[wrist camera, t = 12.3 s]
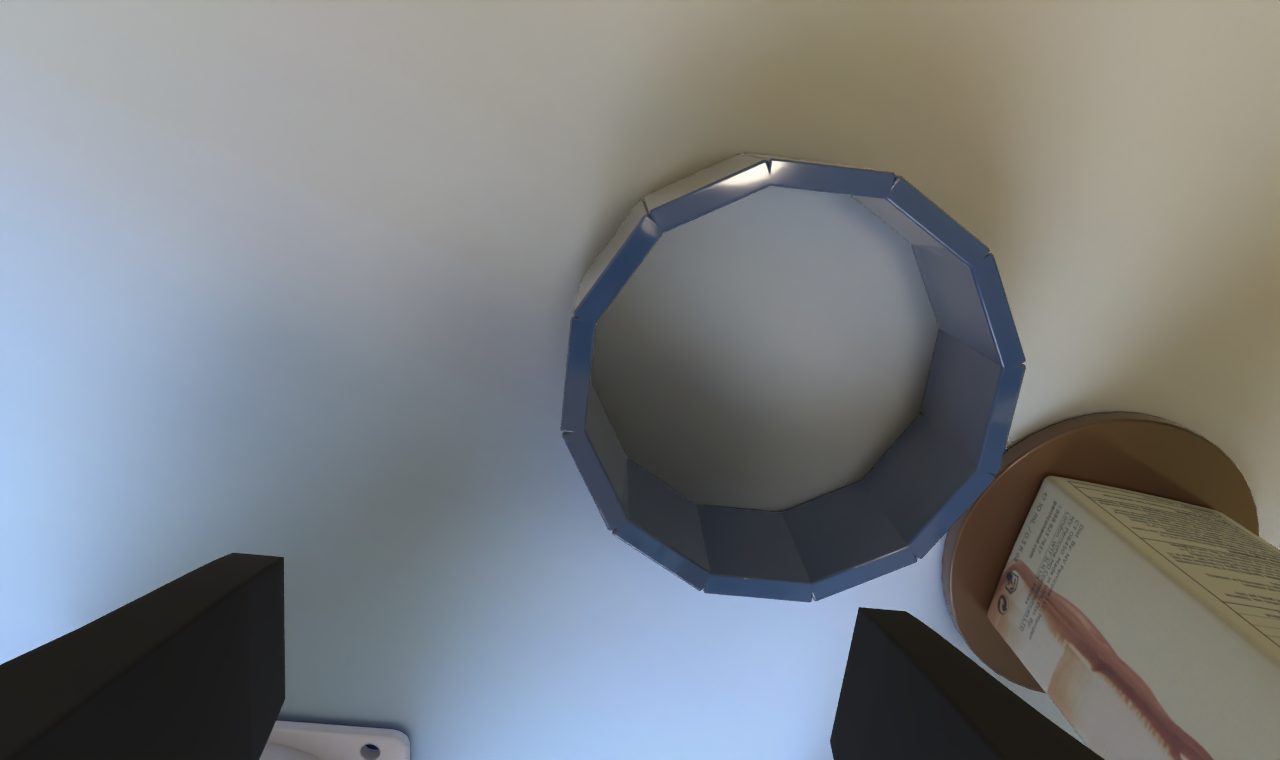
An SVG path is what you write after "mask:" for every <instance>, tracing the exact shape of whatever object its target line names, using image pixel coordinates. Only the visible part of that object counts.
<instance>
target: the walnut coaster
mask: <svg viewBox="0 0 1280 760" xmlns="http://www.w3.org/2000/svg"><path fill="white" fill-rule="evenodd" d="M994 475H995V477H996V478H995V480H994V481H993V482H992V483H991V484H990V485H989V486H988V487H987V488H986V489H985V490H984V492H983V493H982V494H981V495H980V496H979V497H978V498H977V499H976V500H975V501H974V502H973V504H972V505H971V506H970V507H969V508H968V509H967V510H966V511H965V512H964V513H963V514H962V515H961V517H960V518H959V519H958V520H957V521H956V522H955V523H954V524H953V525H952V526H951V527H950V529H949V532H948V535H947V538H946V541H945V547H944V552H943V558H942V584H943V592H944V597H945V601H946V604H947V608H948V611H949V613H950V615H951V618H952V620H953V622H954V624H955V626H956V628H957V629H958V631H959V632H960V634H961V635H962V637H963V638H964V640H965V641H966V643H967V644H968V646H969V647H970V649H971V650H972V651H973V652H974V653H975V654H976V655H977V656H978V658H979V659H980V660H981V661H982V662H983V663H984V664H986V665H987V666H988V667H989V668H991V669H992V670H993V671H994V672H996V673H997V674H999V675H1001V676H1002V677H1004V678H1006V679H1008V680H1009V681H1011V682H1013V683H1016V684H1018V685H1020V686H1023V687H1025V688H1028V689H1031V690H1035V691H1038V692H1042V693H1046V692H1045V691H1044V690H1043V689H1042V687H1041V686H1040V685H1039V683H1038V682H1037V681H1036V680H1035V678H1034V677H1033V676H1032V675H1031V673H1030V672H1029V671H1028V669H1027V668H1026V667H1025V666H1024V664H1023V663H1022V662H1021V660H1020V659H1019V658H1018V656H1017V655H1016V654H1015V653H1014V651H1013V650H1012V649H1011V647H1010V646H1009V645H1008V644H1007V642H1006V641H1005V640H1004V639H1003V637H1002V636H1001V635H1000V633H999V632H998V631H997V629H996V628H995V627H994V626H993V624H992V623H991V621H990V620H989V618H988V609H989V607H990V604H991V601H992V599H993V596H994V594H995V591H996V589H997V586H998V584H999V581H1000V578H1001V576H1002V573H1003V571H1004V569H1005V566H1006V564H1007V561H1008V559H1009V556H1010V555H1011V552H1012V550H1013V547H1014V545H1015V542H1016V540H1017V538H1018V536H1019V534H1020V531H1021V529H1022V527H1023V525H1024V522H1025V520H1026V518H1027V516H1028V513H1029V511H1030V509H1031V507H1032V505H1033V503H1034V501H1035V498H1036V496H1037V494H1038V492H1039V490H1040V487H1041V485H1042V483H1043V480H1044V479H1045V478H1046V477H1047V476H1056V477H1063V478H1068V479H1073V480H1079V481H1085V482H1090V483H1095V484H1100V485H1105V486H1110V487H1115V488H1121V489H1125V490H1130V491H1134V492H1139V493H1144V494H1149V495H1153V496H1158V497H1162V498H1166V499H1171V500H1175V501H1180V502H1184V503H1188V504H1191V505H1196V506H1200V507H1204V508H1208V509H1213V510H1216V511H1219V512H1221V513H1223V514H1224V515H1226V516H1227V517H1229V518H1231V519H1232V520H1234V521H1235V522H1237V523H1238V524H1240V525H1241V526H1243V527H1245V528H1246V529H1248V530H1249V531H1251V532H1252V533H1254V534H1255V535H1257V536H1258V537H1259V524H1258V517H1257V511H1256V506H1255V503H1254V500H1253V497H1252V494H1251V491H1250V489H1249V487H1248V485H1247V483H1246V481H1245V479H1244V477H1243V475H1242V474H1241V472H1240V471H1239V470H1238V468H1237V467H1236V465H1235V464H1234V463H1233V461H1232V460H1231V459H1230V458H1229V457H1228V456H1227V455H1226V454H1225V453H1224V452H1223V451H1222V450H1221V449H1219V448H1218V447H1217V446H1216V445H1214V444H1213V443H1211V442H1210V441H1208V440H1207V439H1205V438H1204V437H1202V436H1201V435H1199V434H1197V433H1195V432H1193V431H1191V430H1189V429H1187V428H1185V427H1183V426H1181V425H1179V424H1177V423H1175V422H1172V421H1169V420H1165V419H1162V418H1159V417H1156V416H1150V415H1144V414H1138V413H1120V412H1114V413H1102V414H1093V415H1088V416H1083V417H1078V418H1073V419H1070V420H1067V421H1064V422H1061V423H1058V424H1055V425H1052V426H1050V427H1048V428H1046V429H1044V430H1042V431H1039V432H1037V433H1035V434H1033V435H1031V436H1030V437H1028V438H1026V439H1025V440H1023V441H1021V442H1020V443H1018V444H1017V445H1015V446H1014V447H1012V448H1011V449H1010V450H1008V451H1007V452H1006V453H1004V454H1003V458H1002V462H1001V466H1000V470H999V473H998V474H994Z"/></svg>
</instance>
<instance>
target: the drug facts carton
mask: <svg viewBox="0 0 1280 760" xmlns="http://www.w3.org/2000/svg"><path fill="white" fill-rule="evenodd" d="M988 618H989V620H990V621H991V623H992V624H993V626H994V627H995V628H996V629H997V631H998V632H999V633H1000V635H1001V636H1002V637H1003V639H1004V640H1005V641H1006V642H1007V644H1008V645H1009V646H1010V647H1011V649H1012V650H1013V651H1014V653H1015V654H1016V655H1017V656H1018V658H1019V659H1020V660H1021V662H1022V663H1023V664H1024V666H1025V667H1026V668H1027V669H1028V671H1029V672H1030V673H1031V675H1032V676H1033V677H1034V678H1035V680H1036V681H1037V682H1038V683H1039V685H1040V686H1041V687H1042V689H1043V690H1044V691H1045V692H1046V694H1047V695H1048V696H1049V697H1050V698H1051V700H1052V701H1053V703H1054V704H1055V705H1056V706H1057V707H1058V709H1059V710H1060V711H1061V713H1062V714H1063V715H1064V717H1065V718H1066V719H1067V720H1068V722H1069V723H1070V724H1071V726H1072V727H1073V728H1074V729H1075V731H1076V732H1077V733H1078V734H1079V736H1080V737H1081V738H1082V740H1083V741H1084V742H1085V743H1086V745H1087V746H1088V747H1089V749H1091V750H1092V751H1094V752H1095V753H1096V754H1098V755H1099V756H1101V757H1102V758H1104V759H1105V760H1280V550H1278V549H1277V548H1275V547H1274V546H1272V545H1271V544H1269V543H1268V542H1266V541H1264V540H1263V539H1261V538H1260V537H1258V536H1257V535H1255V534H1254V533H1252V532H1251V531H1249V530H1248V529H1246V528H1245V527H1243V526H1241V525H1240V524H1238V523H1237V522H1235V521H1234V520H1232V519H1231V518H1229V517H1227V516H1226V515H1224V514H1223V513H1221V512H1219V511H1216V510H1213V509H1208V508H1204V507H1200V506H1196V505H1191V504H1188V503H1184V502H1180V501H1175V500H1171V499H1166V498H1162V497H1158V496H1153V495H1149V494H1144V493H1139V492H1134V491H1130V490H1125V489H1121V488H1115V487H1110V486H1105V485H1100V484H1095V483H1090V482H1085V481H1079V480H1073V479H1068V478H1063V477H1056V476H1047V477H1046V478H1045V479H1044V480H1043V483H1042V485H1041V487H1040V490H1039V492H1038V494H1037V496H1036V498H1035V501H1034V503H1033V505H1032V507H1031V509H1030V511H1029V513H1028V516H1027V518H1026V520H1025V522H1024V525H1023V527H1022V529H1021V531H1020V534H1019V536H1018V538H1017V540H1016V542H1015V545H1014V547H1013V550H1012V552H1011V555H1010V556H1009V559H1008V561H1007V564H1006V566H1005V569H1004V571H1003V573H1002V576H1001V578H1000V581H999V584H998V586H997V589H996V591H995V594H994V596H993V599H992V601H991V604H990V607H989V609H988Z"/></svg>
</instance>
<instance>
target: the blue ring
mask: <svg viewBox="0 0 1280 760" xmlns="http://www.w3.org/2000/svg"><path fill="white" fill-rule="evenodd" d="M769 186H777V187H785V188H794V189H803V190H811V191H820V192H828V193H837V194H846V195H850V196H852V197H853V198H854V199H855V200H857V201H858V202H859V203H860V204H862V205H863V206H864V207H865V208H867V209H868V210H869V211H870V212H872V213H873V214H874V215H875V216H877V217H878V218H879V219H880V220H882V221H883V222H884V223H885V224H886V225H888V226H889V227H890V228H891V229H893V230H894V231H895V232H896V233H898V234H899V235H900V236H901V237H903V238H904V239H905V240H906V241H908V242H909V243H910V244H911V246H912V249H913V252H914V255H915V258H916V261H917V264H918V266H919V269H920V272H921V275H922V278H923V281H924V284H925V287H926V290H927V293H928V296H929V299H930V302H931V305H932V308H933V311H934V314H935V317H936V320H937V323H938V326H939V331H938V336H937V340H936V345H935V349H934V354H933V358H932V363H931V367H930V372H929V376H928V381H927V385H926V390H925V394H924V399H923V403H922V408H921V412H920V415H919V416H918V417H917V418H916V419H915V420H914V421H913V423H912V424H911V425H910V426H909V427H908V428H907V429H906V431H905V432H904V433H903V434H902V435H901V436H900V437H899V439H898V440H897V441H896V442H895V443H894V444H893V445H892V447H891V448H890V449H889V450H888V451H887V452H886V453H885V455H884V456H883V457H882V458H881V459H880V460H879V461H878V463H877V464H876V465H875V466H874V467H873V468H872V470H871V471H870V472H869V473H868V474H867V475H866V476H865V478H864V479H863V480H861V481H859V482H856V483H854V484H851V485H849V486H846V487H844V488H841V489H839V490H836V491H834V492H831V493H829V494H826V495H824V496H821V497H819V498H816V499H814V500H811V501H809V502H806V503H804V504H801V505H799V506H796V507H794V508H791V509H789V510H786V511H784V512H771V511H760V510H749V509H739V508H728V507H717V506H707V505H696V504H695V503H693V502H692V501H690V500H689V499H687V498H686V497H684V496H683V495H681V494H680V493H678V492H677V491H675V490H674V489H673V488H671V487H670V486H668V485H667V484H665V483H664V482H662V481H661V480H659V479H658V478H656V477H655V476H653V475H652V474H650V473H649V472H647V471H646V470H644V469H643V468H641V467H640V466H639V465H637V464H636V463H634V462H633V461H631V460H630V459H628V458H627V457H626V455H625V452H624V450H623V448H622V446H621V444H620V442H619V440H618V438H617V436H616V433H615V431H614V429H613V427H612V425H611V423H610V421H609V419H608V417H607V414H606V412H605V410H604V408H603V406H602V404H601V402H600V400H599V398H598V396H597V393H596V391H595V389H594V387H593V385H592V383H591V381H590V380H591V371H592V361H593V351H594V341H595V331H596V323H597V322H598V321H599V319H600V318H601V317H602V315H603V314H604V313H605V311H606V310H607V309H608V307H609V306H610V304H611V303H612V302H613V300H614V299H615V298H616V296H617V295H618V294H619V292H620V291H621V290H622V288H623V287H624V286H625V284H626V283H627V281H628V280H629V279H630V277H631V276H632V275H633V273H634V272H635V271H636V269H637V268H638V267H639V265H640V264H641V263H642V261H643V260H644V259H645V257H646V256H647V254H648V253H649V252H650V250H651V249H652V248H653V246H654V245H655V244H656V242H657V241H658V240H659V238H660V237H661V236H662V234H663V233H665V232H667V231H669V230H672V229H674V228H676V227H678V226H681V225H683V224H685V223H687V222H690V221H692V220H694V219H697V218H699V217H701V216H703V215H706V214H708V213H710V212H712V211H715V210H717V209H719V208H722V207H724V206H726V205H728V204H731V203H733V202H735V201H737V200H740V199H742V198H744V197H747V196H749V195H751V194H753V193H756V192H758V191H760V190H762V189H765V188H767V187H769ZM989 251H990V250H989V248H988V247H987V246H986V245H984V244H983V243H982V242H981V241H980V240H978V239H977V238H976V237H975V236H974V235H972V234H971V233H970V232H969V231H967V230H966V229H965V228H964V227H963V226H961V225H960V224H959V223H958V222H956V221H955V220H954V219H953V218H952V217H950V216H949V215H948V214H947V213H946V212H944V211H943V210H942V209H941V208H939V207H938V206H937V205H936V204H935V203H933V202H932V201H931V200H930V199H928V198H927V197H926V196H925V195H924V194H922V193H921V192H920V191H919V190H918V189H916V188H915V187H914V186H913V185H911V184H910V183H909V182H908V181H907V180H905V179H904V178H903V177H902V176H899V175H895V173H893V172H888V171H882V170H875V169H869V168H863V167H857V166H851V165H845V164H836V163H828V162H819V161H811V160H802V159H794V158H785V157H777V156H769V155H760V154H752V153H744V154H743V155H742V154H737V155H735V156H733V157H731V158H728V159H726V160H724V161H722V162H719V163H717V164H715V165H713V166H710V167H708V168H706V169H704V170H701V171H699V172H697V173H695V174H692V175H690V176H688V177H686V178H683V179H681V180H679V181H677V182H674V183H672V184H670V185H668V186H666V187H663V188H661V189H659V190H657V191H654V192H652V193H650V194H648V195H645V196H644V201H643V200H639V201H638V203H637V204H636V205H635V207H634V208H633V210H632V211H631V212H630V214H629V215H628V217H627V218H626V219H625V221H624V222H623V223H622V225H621V226H620V228H619V229H618V230H617V232H616V233H615V234H614V236H613V237H612V239H611V240H610V241H609V243H608V244H607V246H606V247H605V248H604V250H603V251H602V252H601V254H600V255H599V257H598V258H597V259H596V261H595V262H594V263H593V265H592V266H591V268H590V269H589V270H588V272H587V273H586V274H585V276H584V277H583V279H582V280H581V283H580V286H579V287H578V291H577V295H576V299H575V303H574V308H573V312H572V316H571V321H570V332H569V343H568V353H567V364H566V375H565V386H564V397H563V408H562V419H561V431H562V437H563V439H564V441H565V443H566V445H567V447H568V449H569V451H570V453H571V455H572V457H573V459H574V461H575V464H576V466H577V468H578V470H579V472H580V474H581V476H582V478H583V480H584V482H585V484H586V486H587V488H588V490H589V492H590V494H591V496H592V498H593V500H594V502H595V504H596V506H597V508H598V510H599V512H600V514H601V516H602V518H603V520H604V522H605V524H606V526H607V528H608V529H609V530H612V534H613V535H614V536H616V537H617V538H619V539H620V540H622V541H624V542H625V543H627V544H628V545H630V546H631V547H633V548H634V549H636V550H637V551H639V552H640V553H642V554H643V555H645V556H647V557H648V558H650V559H651V560H653V561H654V562H656V563H657V564H659V565H660V566H662V567H663V568H665V569H666V570H668V571H670V572H671V573H673V574H674V575H676V576H677V577H679V578H680V579H682V580H683V581H685V582H686V583H688V584H689V585H691V586H693V587H694V588H696V589H697V590H699V591H701V590H702V589H703V591H704V593H709V594H721V595H732V596H744V597H755V598H766V599H778V600H789V601H801V602H811V601H812V598H813V600H815V601H818V600H821V599H823V598H826V597H828V596H831V595H833V594H836V593H839V592H841V591H844V590H846V589H849V588H851V587H854V586H857V585H859V584H862V583H864V582H867V581H870V580H872V579H875V578H877V577H880V576H882V575H885V574H888V573H890V572H893V571H895V570H898V569H900V568H903V567H906V566H908V565H911V564H913V563H916V562H917V558H920V559H921V558H923V557H924V556H925V555H926V554H927V552H928V551H929V550H930V549H931V548H932V547H933V546H934V545H935V544H936V543H937V542H938V540H939V539H940V538H941V537H942V536H943V535H944V534H945V533H946V532H947V531H948V530H949V529H950V527H951V526H952V525H953V524H954V523H955V522H956V521H957V520H958V519H959V518H960V517H961V515H962V514H963V513H964V512H965V511H966V510H967V509H968V508H969V507H970V506H971V505H972V504H973V502H974V501H975V500H976V499H977V498H978V497H979V496H980V495H981V494H982V493H983V492H984V490H985V489H986V488H987V487H988V486H989V485H990V484H991V483H992V482H993V481H994V480H995V478H996V477H995V475H994V474H998V473H999V470H1000V466H1001V462H1002V458H1003V454H1004V450H1005V446H1006V443H1007V439H1008V435H1009V431H1010V427H1011V423H1012V419H1013V415H1014V411H1015V407H1016V404H1017V400H1018V396H1019V392H1020V388H1021V384H1022V380H1023V376H1024V372H1025V369H1026V366H1025V365H1024V364H1022V363H1024V362H1025V356H1024V353H1023V350H1022V346H1021V343H1020V340H1019V337H1018V333H1017V330H1016V327H1015V324H1014V320H1013V317H1012V314H1011V311H1010V307H1009V304H1008V301H1007V298H1006V294H1005V291H1004V288H1003V285H1002V281H1001V278H1000V275H999V272H998V268H997V265H996V262H995V259H994V255H993V254H992V253H989Z"/></svg>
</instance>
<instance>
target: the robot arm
mask: <svg viewBox="0 0 1280 760" xmlns="http://www.w3.org/2000/svg"><path fill="white" fill-rule="evenodd" d="M284 700H285V639H284V557H276V556H264V555H253V554H242V553H231V554H229V555H226V556H224V557H221V558H219V559H217V560H215V561H212V562H210V563H208V564H206V565H204V566H202V567H200V568H198V569H196V570H194V571H192V572H189V573H187V574H185V575H183V576H182V577H180V578H178V579H176V580H174V581H172V582H170V583H168V584H166V585H164V586H162V587H160V588H158V589H156V590H154V591H152V592H150V593H148V594H146V595H144V596H142V597H140V598H138V599H136V600H134V601H132V602H130V603H128V604H126V605H124V606H122V607H121V608H119V609H117V610H115V611H113V612H111V613H109V614H107V615H105V616H103V617H101V618H99V619H97V620H95V621H93V622H91V623H89V624H87V625H85V626H83V627H81V628H79V629H77V630H75V631H73V632H70V633H68V634H66V635H64V636H62V637H60V638H57V639H55V640H53V641H51V642H49V643H47V644H45V645H42V646H40V647H38V648H36V649H34V650H32V651H29V652H27V653H25V654H23V655H21V656H19V657H16V658H14V659H12V660H10V661H8V662H6V663H3V664H1V665H0V760H410V748H411V745H410V740H409V739H408V737H407V736H406V735H405V734H404V733H402V732H401V731H398V730H394V729H382V728H369V727H356V726H343V725H330V724H317V723H304V722H290V721H277V720H276V719H277V717H278V715H279V712H280V710H281V707H282V705H283V703H284ZM830 743H831V748H832V753H833V758H834V760H1105V759H1104V758H1102V757H1101V756H1099V755H1098V754H1096V753H1095V752H1094V751H1092V750H1091V749H1089V748H1088V747H1086V746H1085V745H1084V744H1082V743H1081V742H1079V741H1078V740H1076V739H1075V738H1073V737H1072V736H1071V735H1069V734H1068V733H1067V732H1065V731H1064V730H1063V729H1061V728H1060V727H1058V726H1057V725H1056V724H1054V723H1053V722H1052V721H1050V720H1049V719H1048V718H1046V717H1045V716H1043V715H1042V714H1041V713H1040V712H1038V711H1037V710H1036V709H1034V708H1033V707H1032V706H1030V705H1029V704H1028V703H1026V702H1025V701H1024V700H1022V699H1021V698H1020V697H1018V696H1017V695H1016V694H1015V693H1013V692H1012V691H1011V690H1009V689H1008V688H1007V687H1005V686H1004V685H1003V684H1002V683H1000V682H999V681H998V680H997V679H995V678H994V677H993V676H991V675H990V674H989V673H988V672H986V671H985V670H984V669H982V668H981V667H980V666H979V665H977V664H976V663H975V662H974V661H972V660H971V659H970V658H968V657H967V656H966V655H965V654H963V653H962V652H961V651H960V650H958V649H957V648H956V647H954V646H953V645H952V644H951V643H949V642H948V641H947V640H945V639H944V638H943V637H941V636H940V635H939V634H937V633H936V632H935V631H934V630H932V629H931V628H929V627H928V626H927V625H925V624H924V623H923V622H921V621H920V620H918V619H917V618H915V617H914V616H912V615H911V614H909V613H907V612H906V611H894V610H883V609H872V608H860V607H859V609H858V614H857V619H856V623H855V628H854V633H853V637H852V642H851V647H850V651H849V656H848V661H847V665H846V670H845V674H844V679H843V684H842V688H841V693H840V698H839V702H838V707H837V712H836V716H835V721H834V725H833V730H832V735H831V739H830ZM367 744H372V745H375V746H377V747H378V748H379V749H377V750H373V749H369V748H368V747H367V746H366V745H367Z"/></svg>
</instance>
